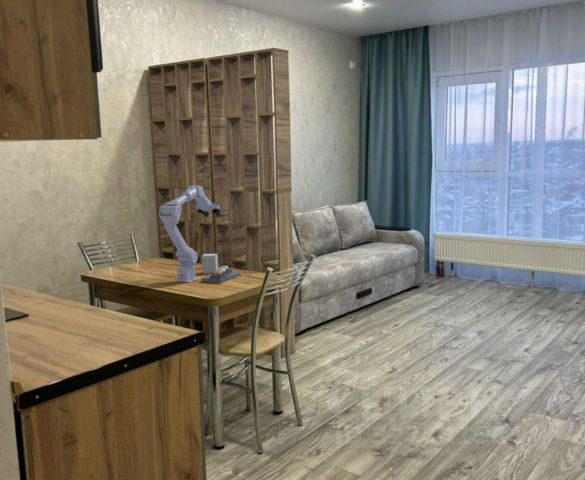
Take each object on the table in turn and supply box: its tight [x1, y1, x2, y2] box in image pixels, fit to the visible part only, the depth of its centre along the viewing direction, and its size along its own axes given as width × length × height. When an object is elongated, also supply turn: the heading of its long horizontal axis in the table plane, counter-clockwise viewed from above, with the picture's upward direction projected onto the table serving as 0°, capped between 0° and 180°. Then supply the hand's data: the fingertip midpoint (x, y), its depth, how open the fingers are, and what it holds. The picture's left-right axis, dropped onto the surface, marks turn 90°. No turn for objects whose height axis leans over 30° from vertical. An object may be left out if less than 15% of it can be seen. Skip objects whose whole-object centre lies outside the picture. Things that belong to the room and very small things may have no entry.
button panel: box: [200, 268, 242, 284], centre depth 307 cm, size 21×12×3 cm, turn 156°
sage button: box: [219, 265, 229, 271], centre depth 313 cm, size 4×4×2 cm
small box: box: [201, 253, 219, 275], centre depth 324 cm, size 8×6×10 cm
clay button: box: [214, 271, 222, 276], centre depth 300 cm, size 4×4×2 cm
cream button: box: [217, 267, 225, 273], centre depth 306 cm, size 4×4×2 cm
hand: (213, 215), depth 326 cm, fingers open, 7 cm apart
